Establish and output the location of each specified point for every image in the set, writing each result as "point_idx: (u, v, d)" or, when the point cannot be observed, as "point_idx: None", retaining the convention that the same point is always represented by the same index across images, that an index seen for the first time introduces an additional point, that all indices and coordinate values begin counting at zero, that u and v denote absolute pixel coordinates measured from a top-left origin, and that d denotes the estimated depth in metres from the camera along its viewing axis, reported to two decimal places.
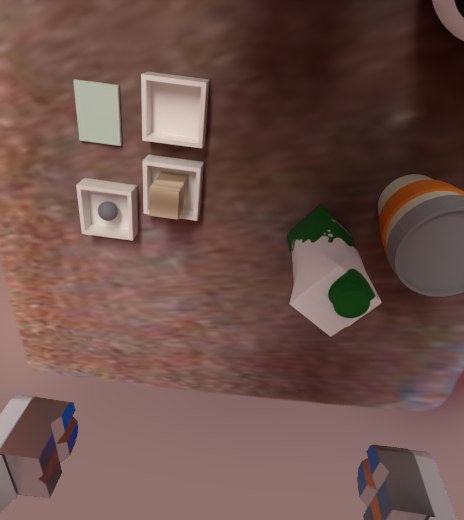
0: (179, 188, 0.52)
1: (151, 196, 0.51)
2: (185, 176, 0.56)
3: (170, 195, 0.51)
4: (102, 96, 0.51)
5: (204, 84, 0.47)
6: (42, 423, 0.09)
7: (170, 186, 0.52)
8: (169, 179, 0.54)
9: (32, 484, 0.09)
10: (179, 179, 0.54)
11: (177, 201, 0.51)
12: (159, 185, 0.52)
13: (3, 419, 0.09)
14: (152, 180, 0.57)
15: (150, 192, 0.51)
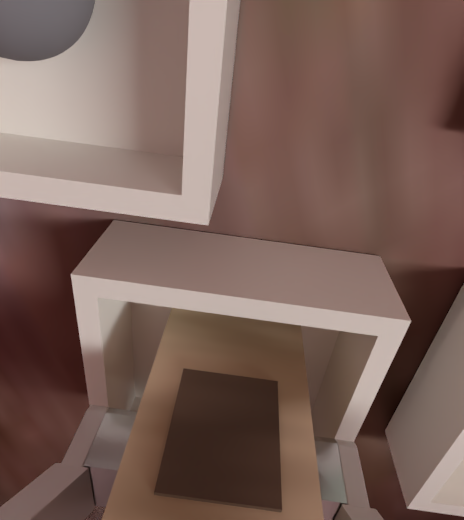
0: None
1: None
2: None
3: None
4: None
5: None
6: (121, 434, 0.09)
7: None
8: None
9: None
10: None
11: None
12: None
13: (83, 430, 0.09)
14: None
15: None
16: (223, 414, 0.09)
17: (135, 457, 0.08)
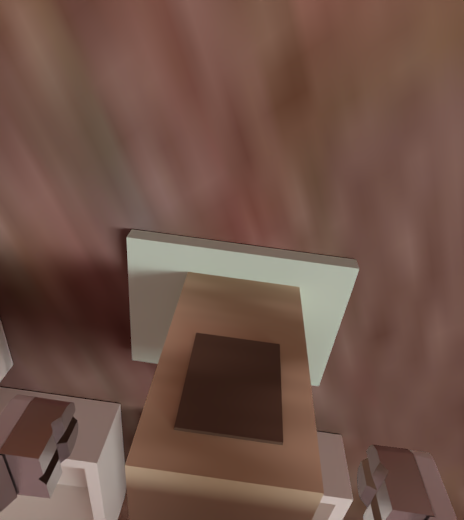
0: None
1: (266, 494, 0.08)
2: None
3: None
4: None
5: None
6: (42, 423, 0.09)
7: None
8: None
9: (32, 484, 0.09)
10: None
11: None
12: None
13: (3, 418, 0.09)
14: None
15: (294, 493, 0.08)
16: (232, 369, 0.10)
17: (156, 401, 0.09)
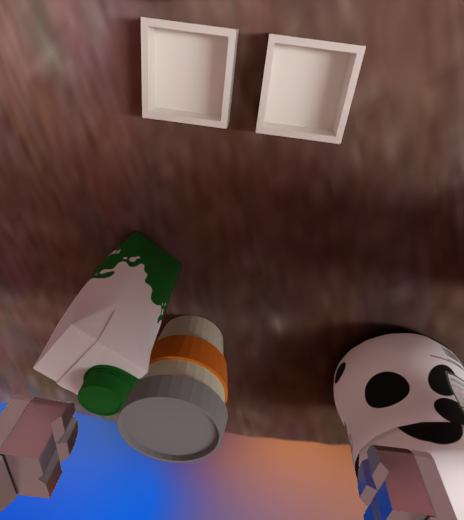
0: None
1: None
2: None
3: None
4: None
5: (338, 141, 0.36)
6: (42, 423, 0.09)
7: None
8: None
9: (32, 483, 0.09)
10: None
11: None
12: None
13: (3, 418, 0.09)
14: (197, 33, 0.35)
15: None
16: None
17: None
